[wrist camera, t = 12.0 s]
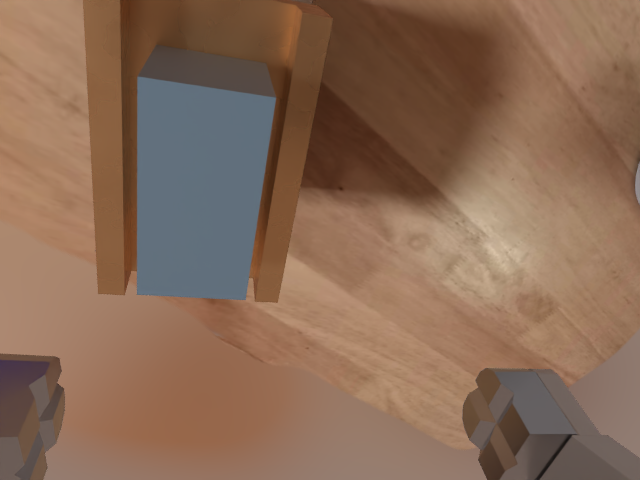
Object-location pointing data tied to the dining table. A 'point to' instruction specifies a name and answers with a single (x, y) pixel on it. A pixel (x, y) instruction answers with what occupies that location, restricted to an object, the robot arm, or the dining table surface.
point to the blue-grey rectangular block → (199, 171)
